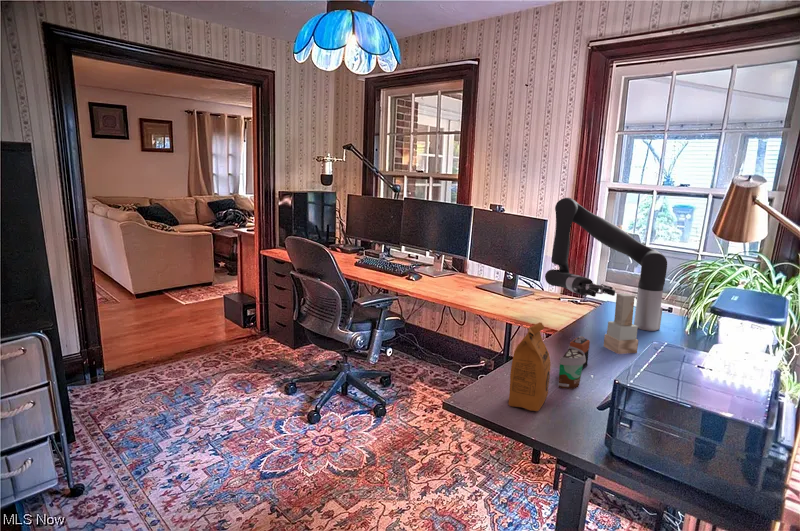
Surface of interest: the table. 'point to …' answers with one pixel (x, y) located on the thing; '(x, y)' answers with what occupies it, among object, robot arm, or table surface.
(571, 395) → the table surface
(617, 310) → the box
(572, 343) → the battery
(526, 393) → the coffee package
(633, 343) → the block
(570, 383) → the food container
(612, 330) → the tower top
